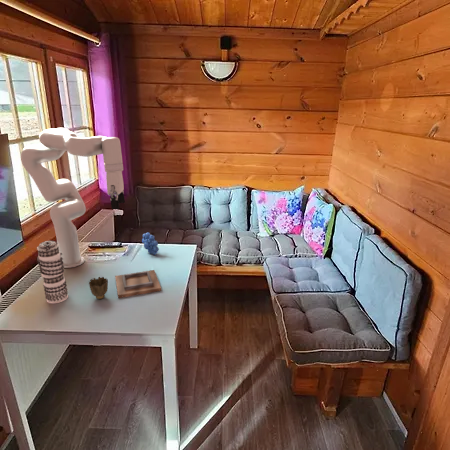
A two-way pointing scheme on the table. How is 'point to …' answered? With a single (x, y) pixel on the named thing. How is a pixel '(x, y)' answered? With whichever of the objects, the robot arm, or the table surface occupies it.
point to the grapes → (150, 243)
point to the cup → (99, 287)
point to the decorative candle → (52, 272)
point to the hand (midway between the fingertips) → (118, 205)
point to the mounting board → (137, 283)
